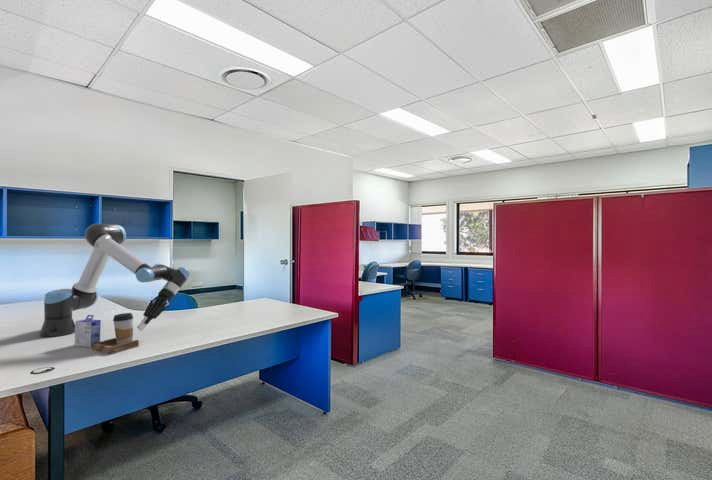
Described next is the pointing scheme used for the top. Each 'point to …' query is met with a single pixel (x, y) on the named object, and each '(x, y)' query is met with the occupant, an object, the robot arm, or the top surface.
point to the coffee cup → (123, 328)
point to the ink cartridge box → (87, 332)
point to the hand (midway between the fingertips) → (139, 329)
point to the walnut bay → (110, 349)
